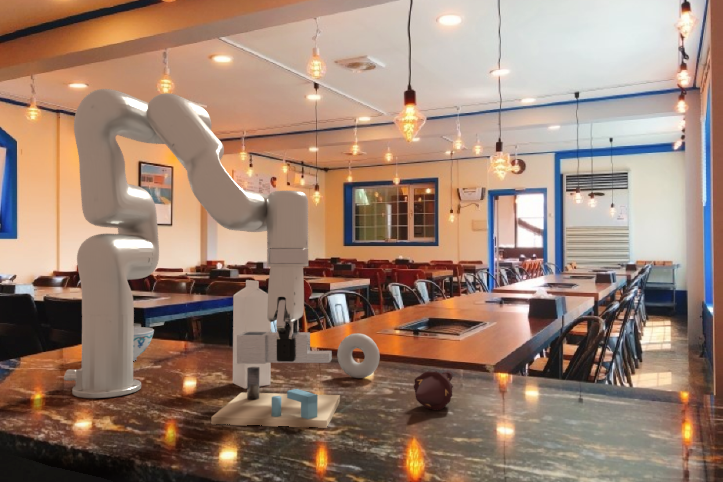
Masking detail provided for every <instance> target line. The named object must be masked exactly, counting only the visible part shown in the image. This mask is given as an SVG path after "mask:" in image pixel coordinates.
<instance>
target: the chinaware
mask: <svg viewBox="0 0 723 482" xmlns="http://www.w3.org/2000/svg"><path fill="white" fill-rule="evenodd" d="M154 332H155V329H153V327H144V326H143V327H142V326H141V327H140V326H134V337H133V361H134V362H136V361H137V357H139V356H140V355H142V353H144V352H145V351H146V350H147V349H148V347H149V346H150V343H151V342H152V339H153V336H154ZM135 360H136V361H135Z"/></svg>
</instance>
